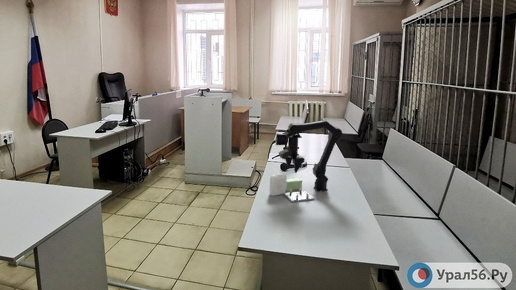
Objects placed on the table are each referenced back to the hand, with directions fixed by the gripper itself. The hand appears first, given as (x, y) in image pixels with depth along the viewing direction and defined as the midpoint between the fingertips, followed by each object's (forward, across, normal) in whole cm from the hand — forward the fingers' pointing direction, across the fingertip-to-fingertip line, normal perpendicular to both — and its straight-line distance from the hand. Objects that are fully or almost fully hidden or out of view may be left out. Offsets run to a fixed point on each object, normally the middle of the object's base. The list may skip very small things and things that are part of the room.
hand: (292, 170), depth 197 cm
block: (+12, -1, +2) cm, 12 cm away
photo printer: (+12, +4, -11) cm, 17 cm away
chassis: (+12, +13, -2) cm, 18 cm away
